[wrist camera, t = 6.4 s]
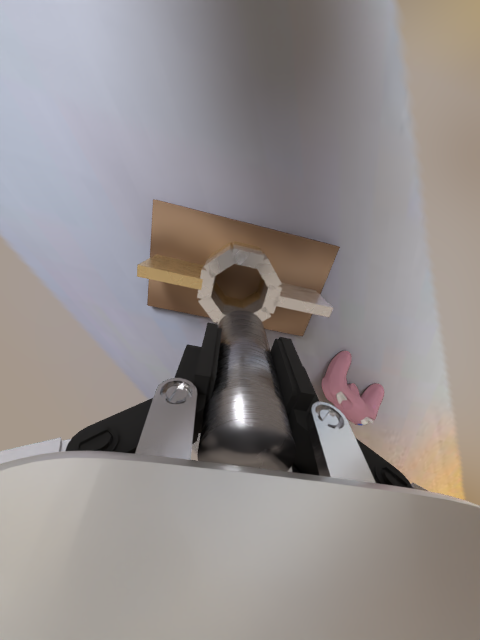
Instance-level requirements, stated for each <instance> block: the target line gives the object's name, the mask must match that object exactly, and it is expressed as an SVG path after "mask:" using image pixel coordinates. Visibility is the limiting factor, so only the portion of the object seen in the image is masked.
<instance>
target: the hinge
mask: <svg viewBox="0 0 480 640" xmlns="http://www.w3.org/2000/svg"><path fill="white" fill-rule="evenodd" d="M233 264H237V265H242V266H246V267H250V268H255V269H257V270H258V271H259V273H260V275H261V280H260V283H259V287H258V291H256V292H254V293H253V294H251V295H249V296H248V297H246V298H244V299H243V300H242V299H237V298H233V297H228V296H225V295H224V293H223V292H222V290H221V289H220V287H219V286H218V285H217V283H216V282H215V281H216V276H217V274H219V273H221V272H222V271H224V270H225V269H227V268H228V267H230V266H232V265H233ZM137 276H138V277H142V278H147V279H152V280H156V281H161V282H166V283H171V284H175V285H180V286H185V287H189V288H194V289H198V295H197V298H199V300H198V302H199V303H200V305H201V306H202V307H203V309H204V310H205V311H206V313H207V314H208V315H209V317H210V318H211V319H212V320H213V322H214V323H215V322H217V321H218V324H219V322H220V320H221V319H222V318H223V317H224V316H225V315H227V314H228V313H230V312H233V311H237V310H245V311H249V312H252V313H254V314H255V315H257V316H258V317H259V318H260V319H261V321H264V320H266V319H268V318H270V317H271V314H270V313H272V314H274V311H275V308H276V306H278V307H283V308H287V309H292V310H297V311H302V312H306V313H311V314H316V315H320V316H325V317H329V316H330V314H331V312H332V310H333V307H332V306H331V305H330V304H329V303H328V302H327V301H326V300H325V299H324V298H323V297H322V296H321V295H320V294H319V293H318V292H317V291H316V290H311V289H307V288H302V287H298V286H294V285H289V284H285V283H281V281H280V280H279V278H278V276H277V274H276V272H275V270H274V269H273V267H272V265H271V263H270V261H269V260H268V258H267V256H266V255H265V254H264V252H263V251H262V249H261V250H260V248H259V247H257V246H253V245H248V244H244V243H240V242H236V241H234V244H232V243H231V242H229V243H228V244H226V245H225V246H223V247H222V248H220V249H219V250H217V251H216V252H214V253H213V254H211V255H210V256H209V258H208V259H207V261H206V263H205V264H204V265H201V264H197V263H192V262H188V261H184V260H179V259H175V258H170V257H166V256H162V255H157V254H156V255H155V256H153V257H151V258H149V259H147V260H146V261H144V262H142V263H140V264H138V267H137Z"/></svg>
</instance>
